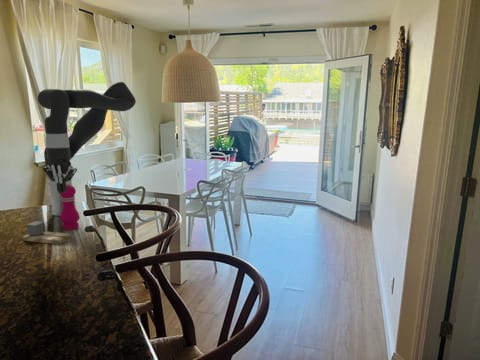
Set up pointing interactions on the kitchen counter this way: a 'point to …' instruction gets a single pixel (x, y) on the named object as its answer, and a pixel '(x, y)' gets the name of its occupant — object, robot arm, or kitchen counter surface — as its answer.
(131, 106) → the robot arm
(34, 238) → the selector board
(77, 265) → the kitchen counter surface
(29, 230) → the selector knob
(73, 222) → the pepper mill
